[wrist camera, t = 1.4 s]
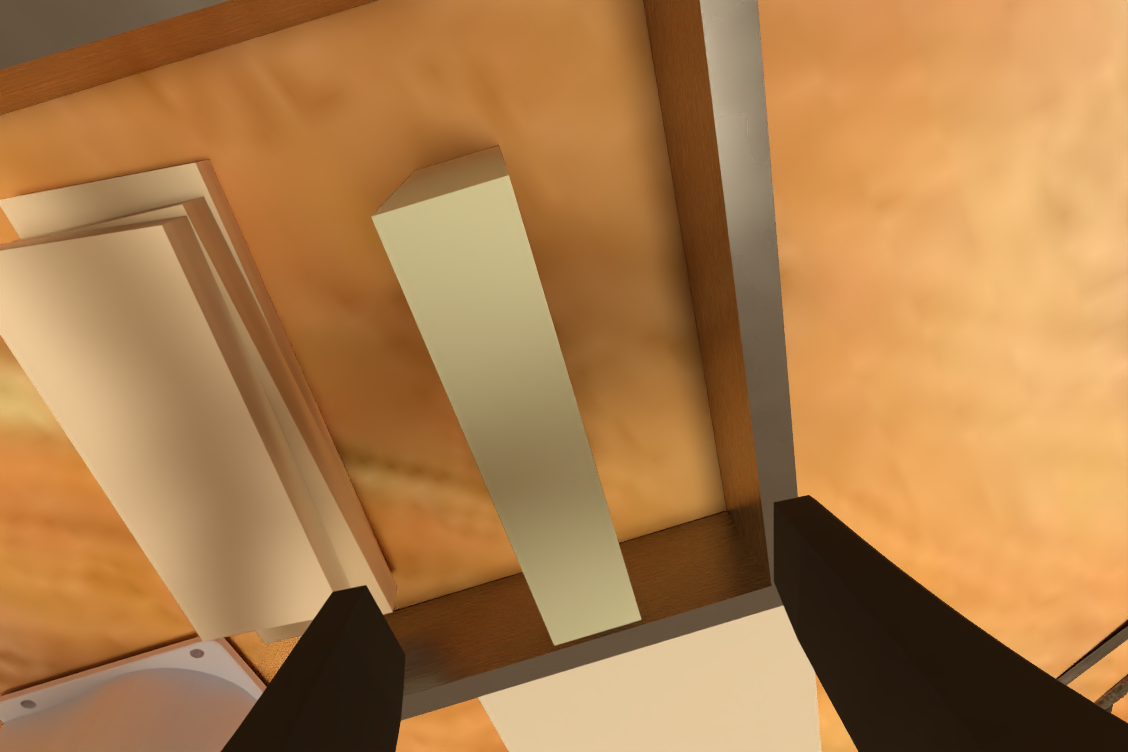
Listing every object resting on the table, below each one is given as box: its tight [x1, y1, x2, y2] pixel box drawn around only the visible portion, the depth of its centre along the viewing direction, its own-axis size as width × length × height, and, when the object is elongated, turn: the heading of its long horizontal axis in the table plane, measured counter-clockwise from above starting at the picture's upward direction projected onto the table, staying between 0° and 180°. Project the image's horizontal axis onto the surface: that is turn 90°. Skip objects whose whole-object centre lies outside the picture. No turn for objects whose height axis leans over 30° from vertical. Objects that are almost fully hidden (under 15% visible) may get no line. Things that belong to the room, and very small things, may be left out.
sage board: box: [371, 145, 641, 646], centre depth 15 cm, size 2×12×7 cm, turn 15°
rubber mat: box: [478, 606, 821, 752], centre depth 29 cm, size 16×20×1 cm
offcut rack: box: [0, 0, 798, 720], centre depth 17 cm, size 18×22×4 cm
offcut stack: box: [0, 160, 397, 644], centre depth 17 cm, size 6×16×4 cm, turn 10°
